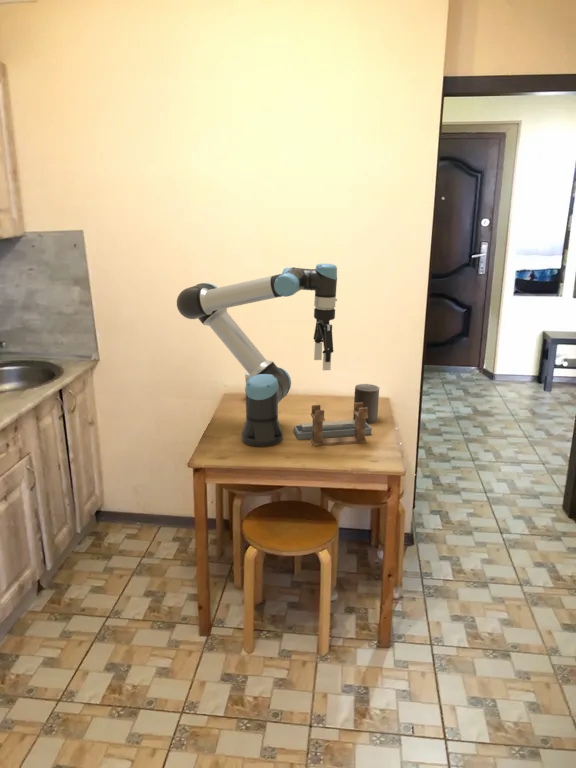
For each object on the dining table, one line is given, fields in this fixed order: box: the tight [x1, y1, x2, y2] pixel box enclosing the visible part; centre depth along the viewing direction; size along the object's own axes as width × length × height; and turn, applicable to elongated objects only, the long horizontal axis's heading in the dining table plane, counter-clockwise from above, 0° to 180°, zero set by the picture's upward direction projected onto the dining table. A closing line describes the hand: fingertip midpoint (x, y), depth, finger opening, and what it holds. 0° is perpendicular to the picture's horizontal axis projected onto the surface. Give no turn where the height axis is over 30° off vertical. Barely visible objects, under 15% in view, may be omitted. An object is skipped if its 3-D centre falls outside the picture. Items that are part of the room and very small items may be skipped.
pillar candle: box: [352, 383, 380, 425], centre depth 245 cm, size 10×10×15 cm
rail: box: [299, 419, 355, 433], centre depth 232 cm, size 24×4×4 cm, turn 101°
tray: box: [293, 423, 372, 441], centre depth 233 cm, size 28×8×2 cm, turn 101°
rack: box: [310, 402, 368, 447], centre depth 222 cm, size 20×7×14 cm, turn 101°
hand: (322, 364), depth 226 cm, fingers open, 13 cm apart
